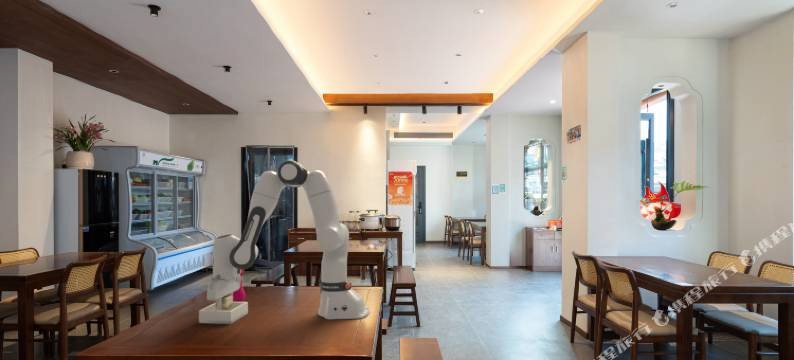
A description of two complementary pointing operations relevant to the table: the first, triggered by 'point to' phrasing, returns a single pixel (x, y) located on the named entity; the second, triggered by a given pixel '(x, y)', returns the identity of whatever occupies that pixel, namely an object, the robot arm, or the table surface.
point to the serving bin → (223, 314)
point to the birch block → (226, 303)
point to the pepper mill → (239, 291)
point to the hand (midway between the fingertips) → (224, 305)
